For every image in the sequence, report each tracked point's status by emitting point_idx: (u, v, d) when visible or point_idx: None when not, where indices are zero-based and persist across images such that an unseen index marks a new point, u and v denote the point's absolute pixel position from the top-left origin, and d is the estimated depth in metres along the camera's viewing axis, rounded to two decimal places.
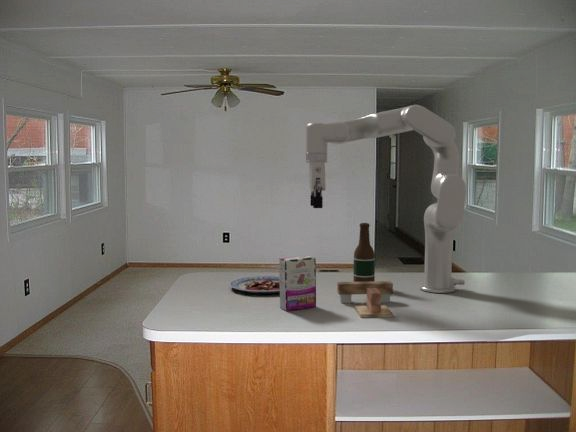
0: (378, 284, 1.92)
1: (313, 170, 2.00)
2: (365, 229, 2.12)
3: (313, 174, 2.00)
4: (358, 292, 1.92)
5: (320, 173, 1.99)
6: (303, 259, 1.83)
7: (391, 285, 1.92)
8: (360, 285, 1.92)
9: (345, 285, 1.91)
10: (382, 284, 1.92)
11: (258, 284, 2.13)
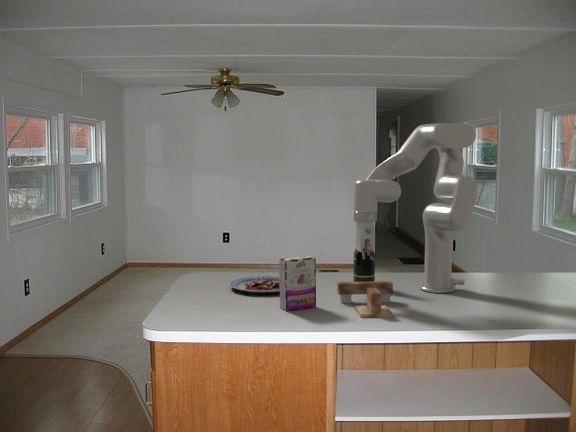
0: (378, 284, 1.92)
1: (362, 231, 1.87)
2: None
3: (362, 235, 1.87)
4: (358, 292, 1.92)
5: (370, 234, 1.87)
6: (303, 259, 1.83)
7: (391, 285, 1.92)
8: (360, 285, 1.92)
9: (345, 285, 1.91)
10: (382, 284, 1.92)
11: (258, 284, 2.13)
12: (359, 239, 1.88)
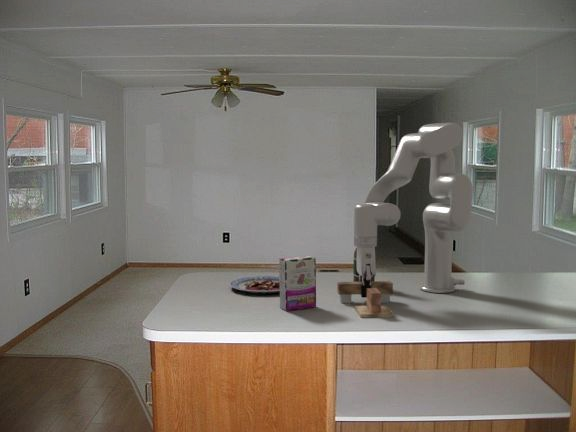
0: (378, 284, 1.92)
1: (363, 256, 1.88)
2: None
3: (363, 260, 1.88)
4: (358, 292, 1.92)
5: (370, 259, 1.88)
6: (303, 259, 1.83)
7: (391, 285, 1.92)
8: (360, 285, 1.92)
9: (345, 285, 1.91)
10: (382, 284, 1.92)
11: (258, 284, 2.13)
12: (360, 263, 1.89)
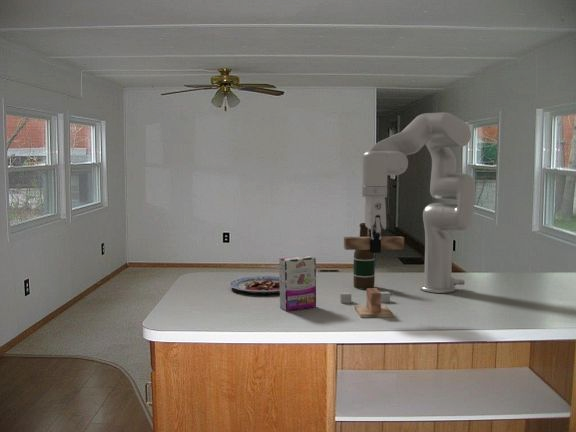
0: (388, 239, 1.77)
1: (372, 206, 1.72)
2: (365, 229, 2.12)
3: (372, 211, 1.72)
4: (366, 247, 1.76)
5: (380, 210, 1.72)
6: (303, 259, 1.83)
7: (402, 240, 1.77)
8: (369, 239, 1.76)
9: (352, 239, 1.76)
10: (392, 239, 1.77)
11: (258, 284, 2.13)
12: (369, 215, 1.74)
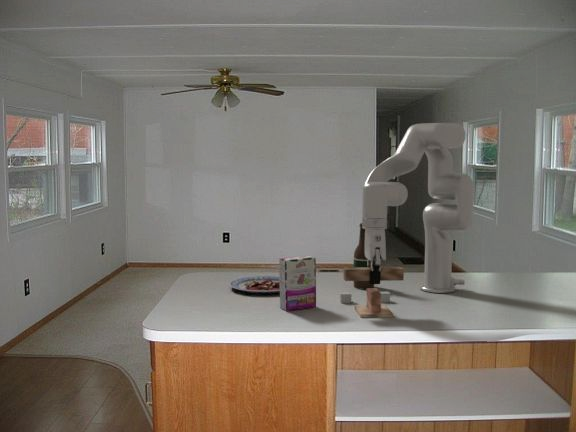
0: (388, 270, 1.77)
1: (372, 238, 1.73)
2: None
3: (372, 243, 1.73)
4: (366, 278, 1.77)
5: (380, 242, 1.73)
6: (303, 259, 1.83)
7: (402, 271, 1.77)
8: (368, 271, 1.77)
9: (352, 271, 1.76)
10: (392, 270, 1.77)
11: (258, 284, 2.13)
12: (368, 247, 1.75)
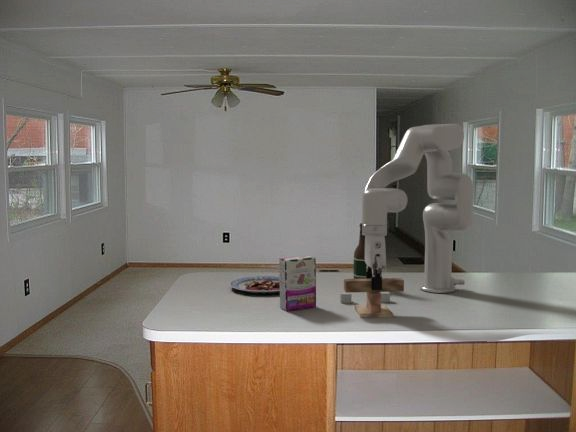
0: (388, 281, 1.78)
1: (372, 245, 1.73)
2: None
3: (372, 250, 1.73)
4: (366, 290, 1.77)
5: (380, 249, 1.73)
6: (303, 259, 1.83)
7: (402, 282, 1.78)
8: (369, 282, 1.77)
9: (352, 282, 1.77)
10: (392, 281, 1.78)
11: (258, 284, 2.13)
12: (369, 254, 1.75)
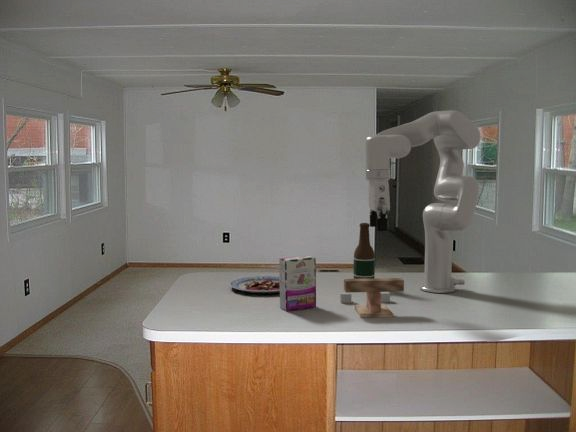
0: (388, 281, 1.78)
1: (376, 189, 1.79)
2: (365, 229, 2.12)
3: (376, 193, 1.79)
4: (366, 290, 1.77)
5: (384, 192, 1.79)
6: (303, 259, 1.83)
7: (402, 282, 1.78)
8: (369, 282, 1.77)
9: (352, 282, 1.77)
10: (392, 281, 1.78)
11: (258, 284, 2.13)
12: (373, 198, 1.81)
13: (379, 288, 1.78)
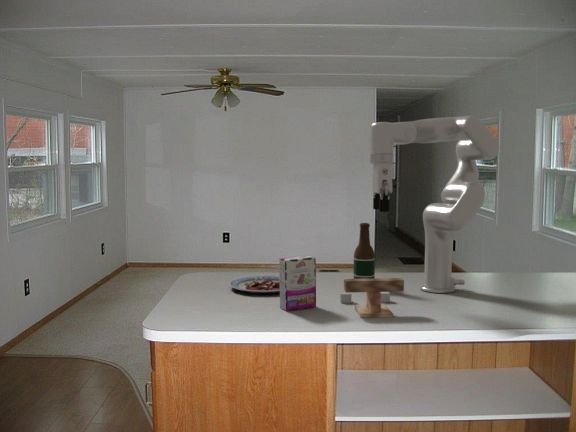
0: (388, 281, 1.78)
1: (379, 172, 1.89)
2: (365, 229, 2.12)
3: (379, 176, 1.89)
4: (366, 290, 1.77)
5: (387, 175, 1.89)
6: (303, 259, 1.83)
7: (402, 282, 1.78)
8: (369, 282, 1.77)
9: (352, 282, 1.77)
10: (392, 281, 1.78)
11: (258, 284, 2.13)
12: (376, 180, 1.91)
13: (379, 288, 1.78)
